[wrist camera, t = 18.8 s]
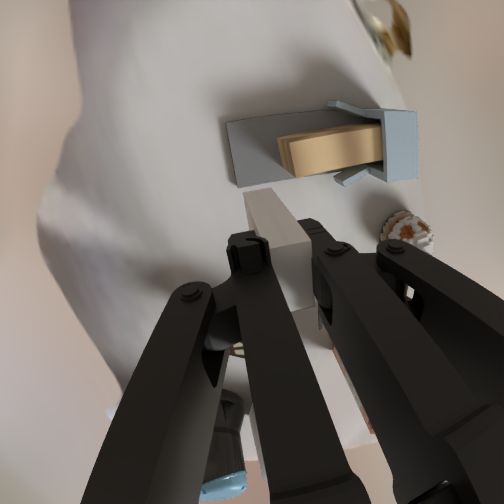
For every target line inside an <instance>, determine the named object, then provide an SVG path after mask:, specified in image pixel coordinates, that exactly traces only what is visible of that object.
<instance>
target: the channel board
mask: <svg viewBox="0 0 504 504" xmlns="http://www.w3.org/2000/svg"><path fill="white" fill-rule="evenodd" d="M327 107H330V108H333V109H336V110H322V111H309V112H298V113H289V114H280V115H272V116H265V117H258V118H251V119H245V120H238V121H233V122H227V123H226V127H227V132H228V138H229V143H230V149H231V154H232V160H233V165H234V171H235V176H236V182H237V187H238V188H242V187H247V186H252V185H258V184H263V183H269V182H275V181H280V180H286V179H293V178H295V177H294V176H293V175H292V174H290V173H289V172H288V171H287V170H285V169H284V168H283V165H282V160H281V155H280V151H279V146H278V142H277V138H279V137H283V136H288V135H293V134H298V133H303V132H308V131H313V130H319V129H325V128H331V127H337V126H343V125H350V124H357V123H364V122H372V121H374V122H381V125H382V140H383V160H380V161H374V162H369V163H364V164H359V165H354V166H349V167H344V168H340V169H335V170H330V171H326V172H321V173H317V174H312V175H319V174H326V173H333V172H340V171H342V172H340V173H338V174H337V175H335V176H333V177H334V179H335V181H336V182H337V183H339V184H341V185H342V186H344V187H346V186H347V185H349V184H351V183H353V182H355V181H356V180H358V179H360V178H362V177H363V176H365V175H367V174H371V175H373V176H375V177H377V178H379V179H381V180H383V181H385V182H395V181H403V180H411V179H418V174H419V146H418V120H417V112H415V111H405V110H395V109H382V108H369V109H360V108H357V107H354V106H352V105H349V104H346V103H343V102H340V101H337V100H334V101H327ZM312 175H308V176H312ZM304 177H305V176H304Z"/></svg>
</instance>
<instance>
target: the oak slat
mask: <svg viewBox="0 0 504 504" xmlns="http://www.w3.org/2000/svg"><path fill="white" fill-rule="evenodd" d="M277 142H278V146H279V151H280V155H281V160H282V165H283V168H284V169H285V170H287V171H288V172H289V173H290V174H292V175H293V176H294V177H295V178H299V177H304V176H308V175H312V174H317V173H321V172H326V171H330V170H335V169H340V168H344V167H349V166H354V165H359V164H364V163H369V162H374V161H380V160H383V140H382V125H381V122H374V121H372V122H364V123H357V124H350V125H343V126H337V127H331V128H325V129H319V130H313V131H308V132H303V133H298V134H293V135H288V136H283V137H279V138H277Z"/></svg>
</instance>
